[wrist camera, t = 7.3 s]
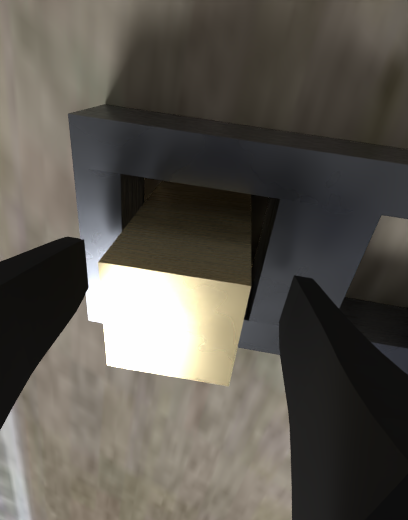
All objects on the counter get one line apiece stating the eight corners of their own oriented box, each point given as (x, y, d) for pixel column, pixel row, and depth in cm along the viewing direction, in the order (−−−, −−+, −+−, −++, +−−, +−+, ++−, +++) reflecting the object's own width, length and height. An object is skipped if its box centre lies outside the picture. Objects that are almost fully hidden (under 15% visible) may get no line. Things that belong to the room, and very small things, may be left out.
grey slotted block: (567, 173, 12) (652, 201, 9) (444, 341, 17) (479, 390, 14) (104, 104, 13) (67, 113, 10) (112, 283, 18) (88, 320, 15)
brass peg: (251, 193, 14) (251, 286, 8) (237, 268, 16) (228, 386, 10) (161, 180, 14) (97, 261, 8) (159, 256, 16) (107, 365, 10)
